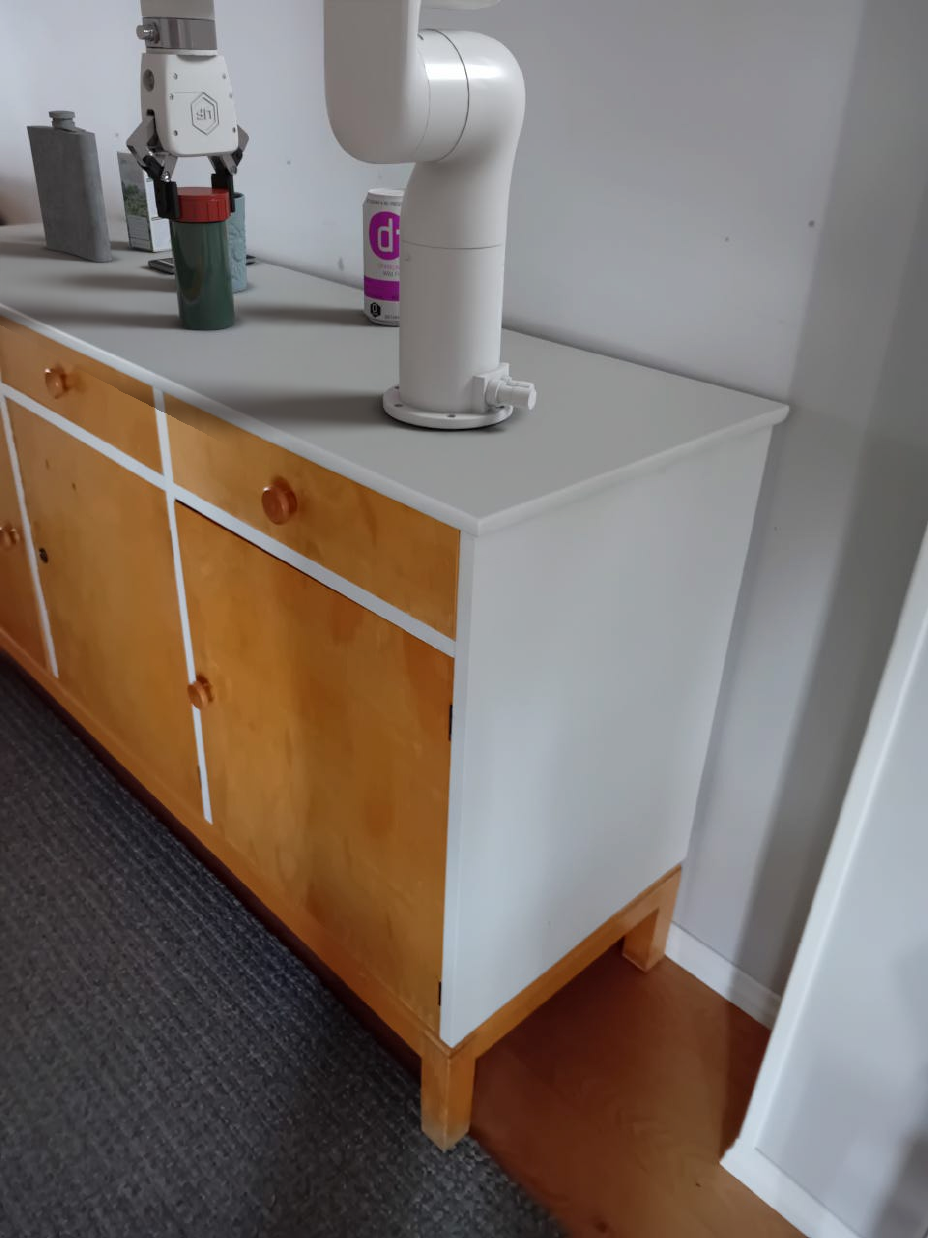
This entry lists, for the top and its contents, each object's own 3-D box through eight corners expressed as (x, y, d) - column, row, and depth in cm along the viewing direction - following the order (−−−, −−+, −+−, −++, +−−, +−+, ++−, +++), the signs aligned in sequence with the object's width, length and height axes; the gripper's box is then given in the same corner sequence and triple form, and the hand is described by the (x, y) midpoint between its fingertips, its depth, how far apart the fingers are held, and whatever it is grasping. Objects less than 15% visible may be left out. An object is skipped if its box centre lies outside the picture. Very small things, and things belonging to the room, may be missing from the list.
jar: (246, 321, 123) (236, 195, 116) (211, 332, 118) (199, 202, 110) (204, 313, 125) (192, 190, 118) (168, 324, 120) (153, 196, 113)
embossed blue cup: (259, 292, 136) (253, 198, 130) (185, 297, 133) (175, 200, 127) (240, 277, 144) (233, 188, 138) (170, 281, 140) (159, 190, 134)
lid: (244, 216, 117) (242, 190, 116) (201, 224, 111) (199, 197, 110) (193, 209, 120) (191, 184, 118) (149, 217, 114) (146, 191, 112)
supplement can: (420, 329, 122) (422, 198, 115) (356, 323, 124) (353, 193, 116) (435, 314, 129) (438, 189, 122) (374, 309, 131) (373, 185, 123)
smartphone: (258, 257, 153) (170, 268, 144) (258, 262, 153) (171, 273, 144) (231, 250, 158) (145, 260, 148) (231, 254, 158) (146, 265, 149)
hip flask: (43, 247, 159) (19, 106, 149) (66, 244, 161) (44, 106, 151) (97, 262, 150) (76, 114, 140) (121, 259, 153) (102, 113, 142)
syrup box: (180, 247, 162) (170, 150, 155) (152, 252, 158) (140, 152, 151) (155, 243, 165) (144, 147, 158) (127, 248, 160) (114, 149, 153)
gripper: (135, 37, 98) (157, 227, 107) (265, 41, 111) (275, 211, 119) (89, 35, 102) (113, 218, 111) (219, 39, 114) (232, 204, 123)
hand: (197, 213), depth 115 cm, fingers closed on lid, 7 cm apart
